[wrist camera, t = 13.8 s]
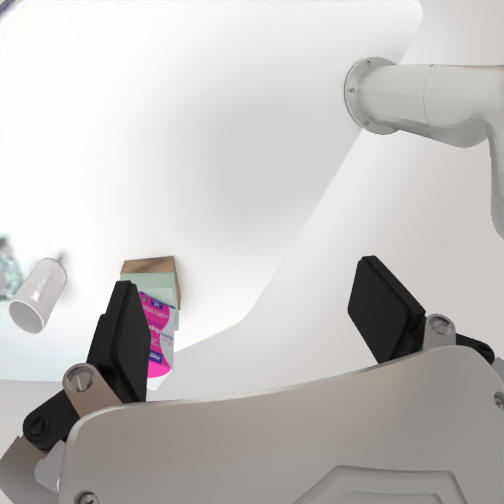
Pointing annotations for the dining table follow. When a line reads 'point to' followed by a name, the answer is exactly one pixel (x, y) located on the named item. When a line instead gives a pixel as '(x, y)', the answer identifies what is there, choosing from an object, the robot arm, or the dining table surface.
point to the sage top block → (156, 288)
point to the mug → (37, 297)
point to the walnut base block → (153, 268)
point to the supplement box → (159, 339)
